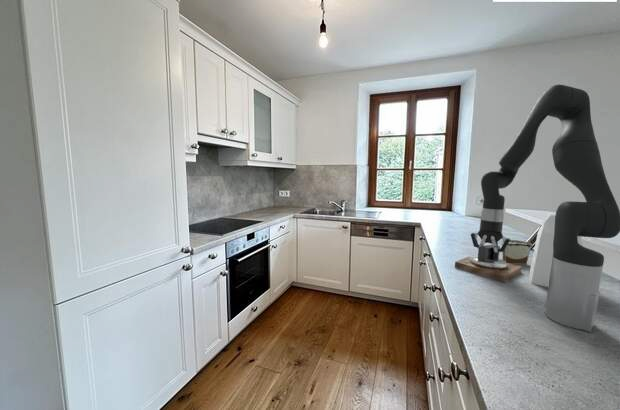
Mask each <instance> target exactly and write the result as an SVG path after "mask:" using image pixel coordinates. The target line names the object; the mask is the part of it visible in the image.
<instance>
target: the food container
mask: <svg viewBox="0 0 620 410" xmlns="http://www.w3.org/2000/svg"><path fill="white" fill-rule="evenodd" d="M503 244H504V243H503V240H502V241H501V244H500V247H502V245H503ZM532 248H533V244H532V243H531V242H528V241H524V240H516V239H510V242H509V243H508V245H507V247H506V248H505V250H504V251H503V252H502V260H504V261H505V262H507V263H509V264H513V265H527V264H528V261H529V257H530V253H531V249H532Z"/></svg>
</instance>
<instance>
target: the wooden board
mask: <svg viewBox="0 0 620 410" xmlns="http://www.w3.org/2000/svg"><path fill="white" fill-rule="evenodd" d="M472 255H473V254H472ZM472 255H469V256H466V257H464V258H461V259H459V260H457V261H455V262H454V268H456V269H459V270H462V271H463V270H464V271H465V272H466V271H467V272H469V273H472V274H475V275H476V274H477V275H478V276H483V277H484V278H485V277H486V278H489V279H493V280H497V281H498V282H502V283H506V282H508V281H509V280H511V279H513V278H514V277H516V276H517V275H519V274H520V273H521V272H522V266H521V265H518V264H509V263H507V268H506V269H491V268H486V267H481V266H478V265H475V264H473V263H471V262H470V256H472Z"/></svg>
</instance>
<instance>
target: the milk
mask: <svg viewBox="0 0 620 410" xmlns="http://www.w3.org/2000/svg"><path fill="white" fill-rule="evenodd" d="M555 215H556V214H552V213H551V214H549V215H548V216H547V217H546V219H545V220H544V221H543V223H542V224H541V226H540V228H539V229H538V231H537V235H536V240H535V245H534V250H533V255H532V260H531V263H530V264H531V265H530V268H529V269H530V270H529V275H528V276H529V279H530V282H531V283H530V284H531V285H532V284H533V285H538V286H542V287H545V288H546V287H547V288H548V286H549V279H550V272H551V265H552V258H553V240H554V229H555ZM578 243H579V244H580V245H581V246H583V238H582V236H578Z"/></svg>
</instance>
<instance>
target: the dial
mask: <svg viewBox="0 0 620 410" xmlns="http://www.w3.org/2000/svg"><path fill="white" fill-rule="evenodd" d="M498 248H501V245H498ZM477 251H478V253H477V254H472V256H471V255H469V256H470V262H471V263H473V264H475V265H478V266H481V267H486V268H491V269H506V268H507V262H505V261H504V260H503V259H501V258H499V256H500V252H499V253H498V259H497V260H495V261H493V253H494V248H493V244H487V245H484V246H479V249H478V250H477Z"/></svg>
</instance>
